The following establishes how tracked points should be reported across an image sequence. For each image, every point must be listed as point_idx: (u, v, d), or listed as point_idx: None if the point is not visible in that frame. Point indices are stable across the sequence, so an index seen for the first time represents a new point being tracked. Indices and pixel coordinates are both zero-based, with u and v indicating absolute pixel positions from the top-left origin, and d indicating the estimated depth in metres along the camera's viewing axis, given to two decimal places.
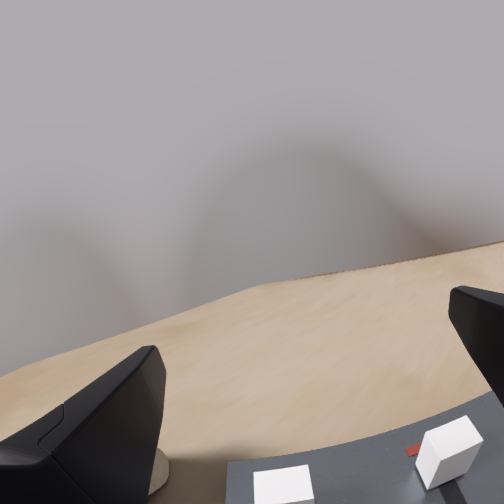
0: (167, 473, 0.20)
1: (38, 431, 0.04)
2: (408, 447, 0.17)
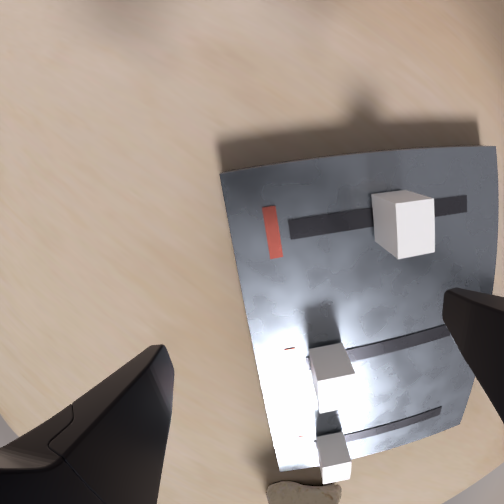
0: (283, 483, 0.30)
1: (47, 432, 0.04)
2: (288, 381, 0.23)
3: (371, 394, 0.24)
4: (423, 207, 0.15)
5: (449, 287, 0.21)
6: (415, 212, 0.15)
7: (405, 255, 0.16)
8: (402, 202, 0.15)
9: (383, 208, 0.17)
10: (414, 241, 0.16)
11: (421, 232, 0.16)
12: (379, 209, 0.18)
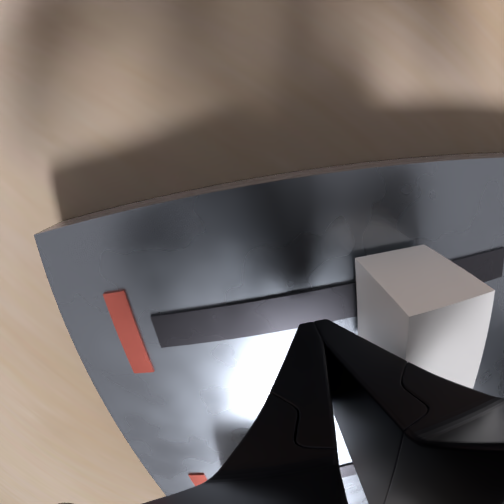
0: None
1: (278, 431, 0.04)
2: None
3: None
4: (471, 314, 0.06)
5: None
6: (453, 328, 0.06)
7: None
8: (426, 310, 0.06)
9: (378, 303, 0.08)
10: None
11: (456, 362, 0.06)
12: (369, 297, 0.08)
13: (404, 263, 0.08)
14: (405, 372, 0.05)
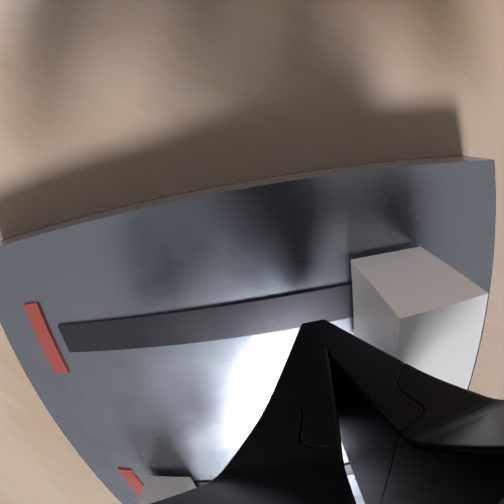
0: None
1: (282, 430, 0.04)
2: (139, 495, 0.14)
3: None
4: (464, 317, 0.06)
5: None
6: (445, 330, 0.06)
7: None
8: (418, 312, 0.06)
9: (372, 304, 0.08)
10: None
11: (449, 364, 0.06)
12: (364, 299, 0.08)
13: (399, 265, 0.08)
14: (401, 373, 0.05)
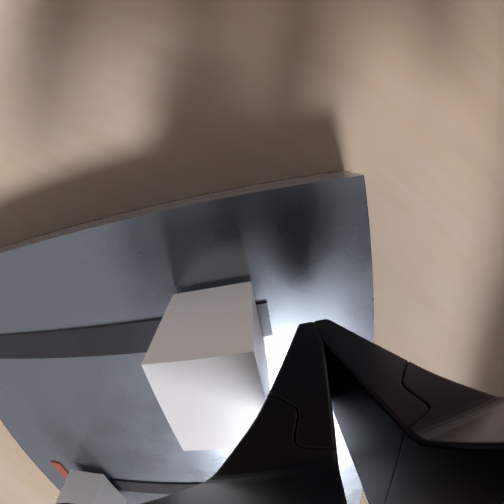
0: None
1: (278, 431, 0.04)
2: None
3: None
4: (225, 372, 0.06)
5: None
6: (202, 382, 0.06)
7: (199, 447, 0.07)
8: (161, 361, 0.06)
9: None
10: (214, 429, 0.07)
11: (229, 415, 0.07)
12: None
13: (204, 304, 0.09)
14: (406, 372, 0.05)
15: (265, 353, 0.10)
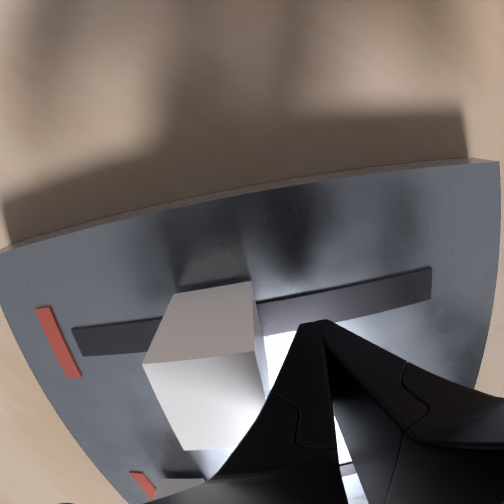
0: None
1: (279, 431, 0.04)
2: (150, 498, 0.14)
3: None
4: (225, 372, 0.06)
5: None
6: (203, 382, 0.06)
7: (199, 446, 0.07)
8: (162, 360, 0.06)
9: None
10: (215, 429, 0.07)
11: (229, 415, 0.07)
12: None
13: (205, 304, 0.09)
14: (405, 372, 0.05)
15: (265, 353, 0.10)
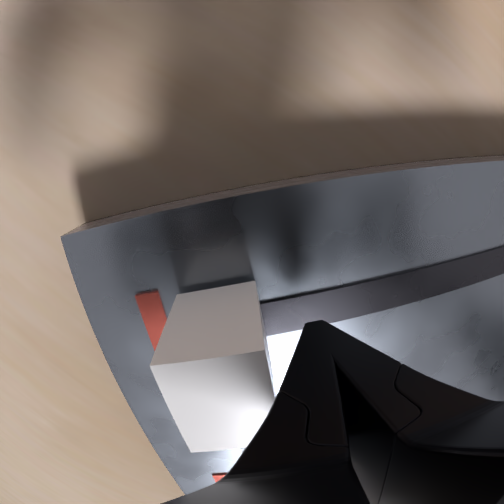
0: None
1: (289, 429, 0.04)
2: None
3: None
4: (235, 372, 0.06)
5: (468, 381, 0.12)
6: (212, 382, 0.06)
7: (206, 448, 0.07)
8: (169, 362, 0.06)
9: None
10: (223, 430, 0.07)
11: (238, 415, 0.07)
12: None
13: (210, 304, 0.09)
14: (399, 374, 0.05)
15: None
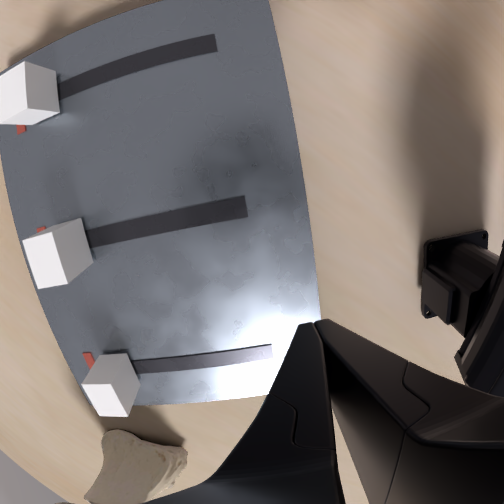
0: (117, 431, 0.27)
1: (277, 431, 0.04)
2: None
3: (143, 300, 0.20)
4: (16, 72, 0.12)
5: (209, 146, 0.18)
6: (10, 79, 0.12)
7: (3, 118, 0.13)
8: (1, 75, 0.12)
9: None
10: (9, 104, 0.13)
11: (14, 94, 0.12)
12: None
13: None
14: (406, 372, 0.05)
15: (57, 105, 0.16)
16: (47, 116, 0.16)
